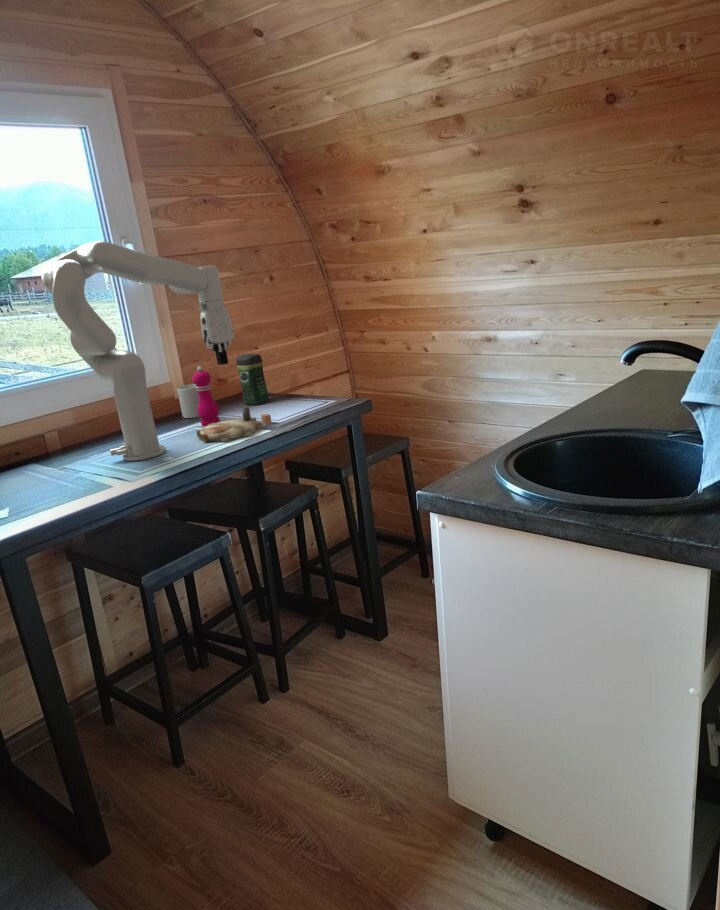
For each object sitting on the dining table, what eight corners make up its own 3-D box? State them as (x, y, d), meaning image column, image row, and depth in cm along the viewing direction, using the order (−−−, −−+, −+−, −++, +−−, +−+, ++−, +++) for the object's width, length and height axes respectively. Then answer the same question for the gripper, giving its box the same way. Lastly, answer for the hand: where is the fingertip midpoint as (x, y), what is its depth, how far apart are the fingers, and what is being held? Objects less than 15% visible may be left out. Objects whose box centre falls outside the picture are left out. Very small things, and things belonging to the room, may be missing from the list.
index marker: (266, 425, 232) (264, 416, 231) (262, 423, 234) (260, 415, 233) (271, 423, 233) (270, 414, 232) (268, 422, 235) (266, 413, 234)
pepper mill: (217, 426, 240) (205, 367, 235) (197, 427, 242) (185, 369, 236) (224, 420, 247) (213, 363, 241) (204, 422, 248) (193, 365, 243)
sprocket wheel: (222, 444, 213) (218, 425, 212) (185, 438, 227) (181, 420, 226) (274, 426, 227) (271, 407, 225) (236, 421, 241) (233, 403, 239)
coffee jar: (273, 401, 268) (264, 351, 262) (257, 406, 262) (248, 356, 257) (256, 399, 274) (247, 351, 269) (240, 405, 269) (231, 356, 263)
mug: (178, 419, 259) (171, 389, 256) (192, 413, 267) (186, 384, 263) (204, 418, 254) (198, 388, 251) (218, 412, 261) (213, 383, 258)
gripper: (204, 309, 217) (215, 368, 222) (237, 302, 228) (247, 359, 234) (186, 310, 221) (198, 369, 226) (220, 303, 233) (230, 359, 238)
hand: (223, 364), depth 230 cm, fingers closed
